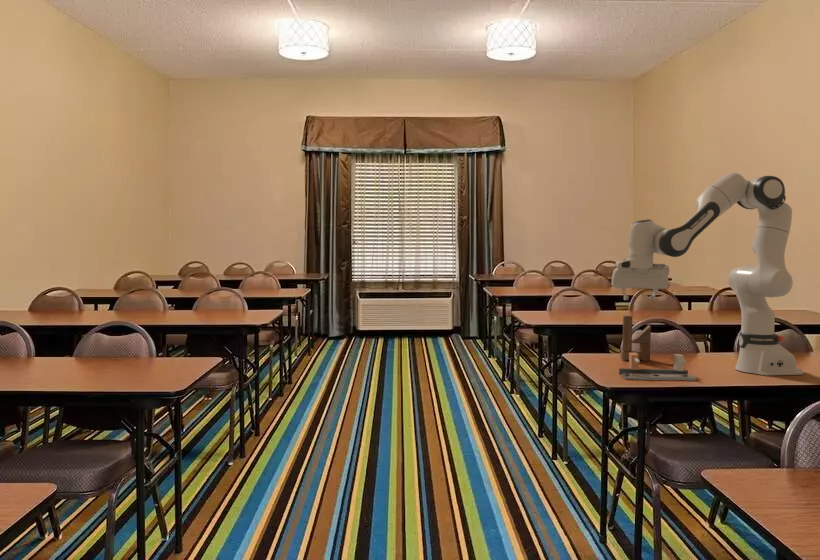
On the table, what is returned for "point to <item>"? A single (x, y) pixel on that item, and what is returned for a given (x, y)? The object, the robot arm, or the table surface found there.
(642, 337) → the brown angular bracket
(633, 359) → the block
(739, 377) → the table surface
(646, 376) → the hole strip
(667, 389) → the table surface
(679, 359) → the rail
